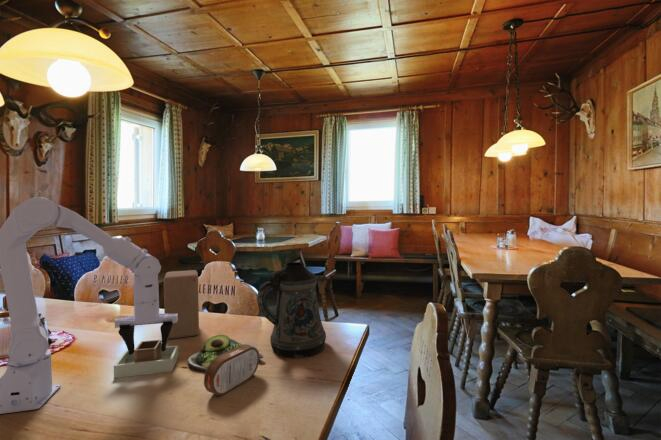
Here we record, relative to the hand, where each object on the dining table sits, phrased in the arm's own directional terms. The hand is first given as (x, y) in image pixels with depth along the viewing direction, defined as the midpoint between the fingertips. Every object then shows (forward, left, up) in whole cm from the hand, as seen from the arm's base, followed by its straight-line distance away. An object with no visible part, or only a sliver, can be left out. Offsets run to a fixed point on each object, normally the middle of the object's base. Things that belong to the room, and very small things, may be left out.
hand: (148, 351), depth 91 cm
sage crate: (0, 0, -4) cm, 4 cm away
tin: (-16, -22, -4) cm, 28 cm away
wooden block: (+23, -5, -4) cm, 24 cm away
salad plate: (0, -19, -4) cm, 20 cm away
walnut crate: (0, 0, -3) cm, 3 cm away
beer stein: (+1, -39, -4) cm, 39 cm away
